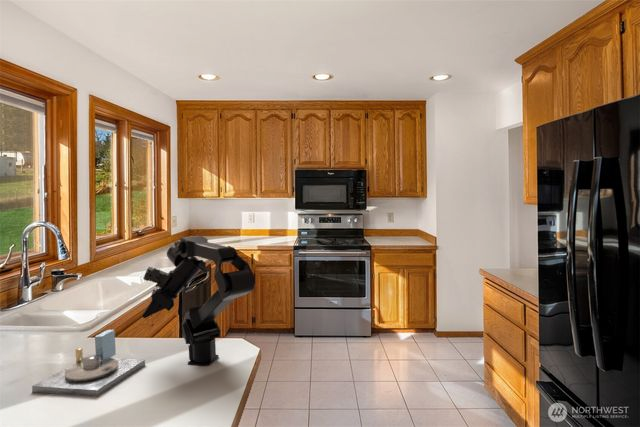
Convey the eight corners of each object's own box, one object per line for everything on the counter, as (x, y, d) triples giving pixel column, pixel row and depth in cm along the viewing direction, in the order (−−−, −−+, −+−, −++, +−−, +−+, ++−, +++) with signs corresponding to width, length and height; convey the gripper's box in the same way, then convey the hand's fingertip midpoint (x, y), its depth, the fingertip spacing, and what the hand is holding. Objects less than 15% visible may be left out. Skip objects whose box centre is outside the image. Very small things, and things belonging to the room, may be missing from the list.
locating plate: (145, 365, 111) (144, 343, 110) (97, 396, 93) (95, 371, 93) (88, 362, 114) (87, 341, 114) (32, 392, 96) (31, 367, 96)
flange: (98, 381, 97) (97, 349, 97) (53, 380, 98) (51, 348, 98) (132, 358, 111) (131, 329, 111) (92, 357, 113) (91, 329, 112)
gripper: (162, 253, 123) (125, 292, 120) (158, 260, 105) (114, 307, 102) (190, 276, 126) (154, 315, 122) (190, 287, 108) (148, 333, 105)
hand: (143, 316), depth 113 cm, fingers closed
